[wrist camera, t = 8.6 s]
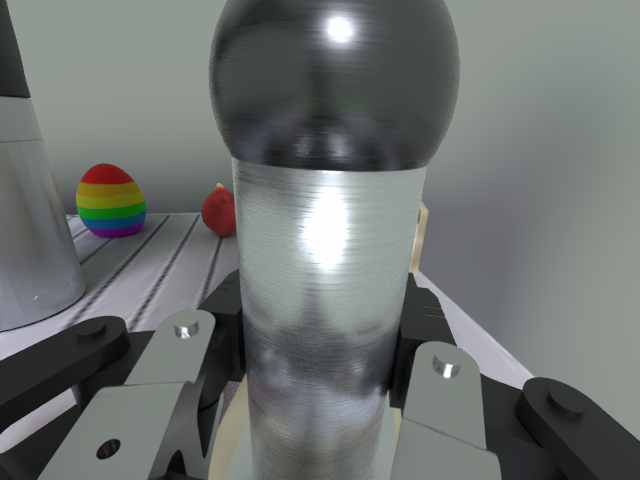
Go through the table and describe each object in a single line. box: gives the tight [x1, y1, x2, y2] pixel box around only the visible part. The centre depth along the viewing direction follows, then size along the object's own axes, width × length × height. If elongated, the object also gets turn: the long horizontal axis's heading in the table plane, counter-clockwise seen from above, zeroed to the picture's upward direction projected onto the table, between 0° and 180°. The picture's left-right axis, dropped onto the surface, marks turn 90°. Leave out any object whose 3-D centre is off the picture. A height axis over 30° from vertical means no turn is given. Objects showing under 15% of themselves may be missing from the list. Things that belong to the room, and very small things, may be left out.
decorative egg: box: [76, 164, 146, 238], centre depth 43 cm, size 8×8×10 cm
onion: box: [202, 183, 236, 237], centre depth 43 cm, size 6×6×8 cm
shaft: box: [209, 0, 460, 480], centre depth 12 cm, size 6×13×16 cm, turn 171°
